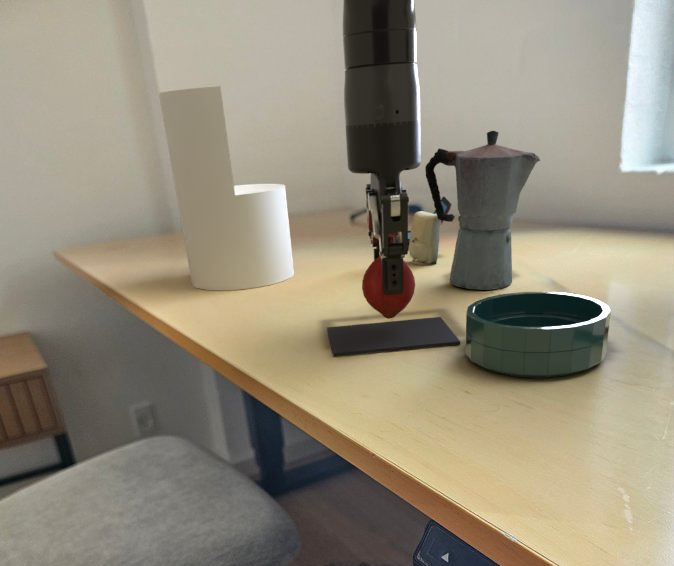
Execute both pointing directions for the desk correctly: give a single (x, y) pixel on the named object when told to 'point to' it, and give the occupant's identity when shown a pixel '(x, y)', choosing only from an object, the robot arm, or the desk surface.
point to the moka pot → (483, 210)
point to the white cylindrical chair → (222, 200)
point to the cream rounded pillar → (424, 238)
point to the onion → (376, 296)
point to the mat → (390, 336)
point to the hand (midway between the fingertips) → (388, 286)
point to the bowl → (537, 333)
